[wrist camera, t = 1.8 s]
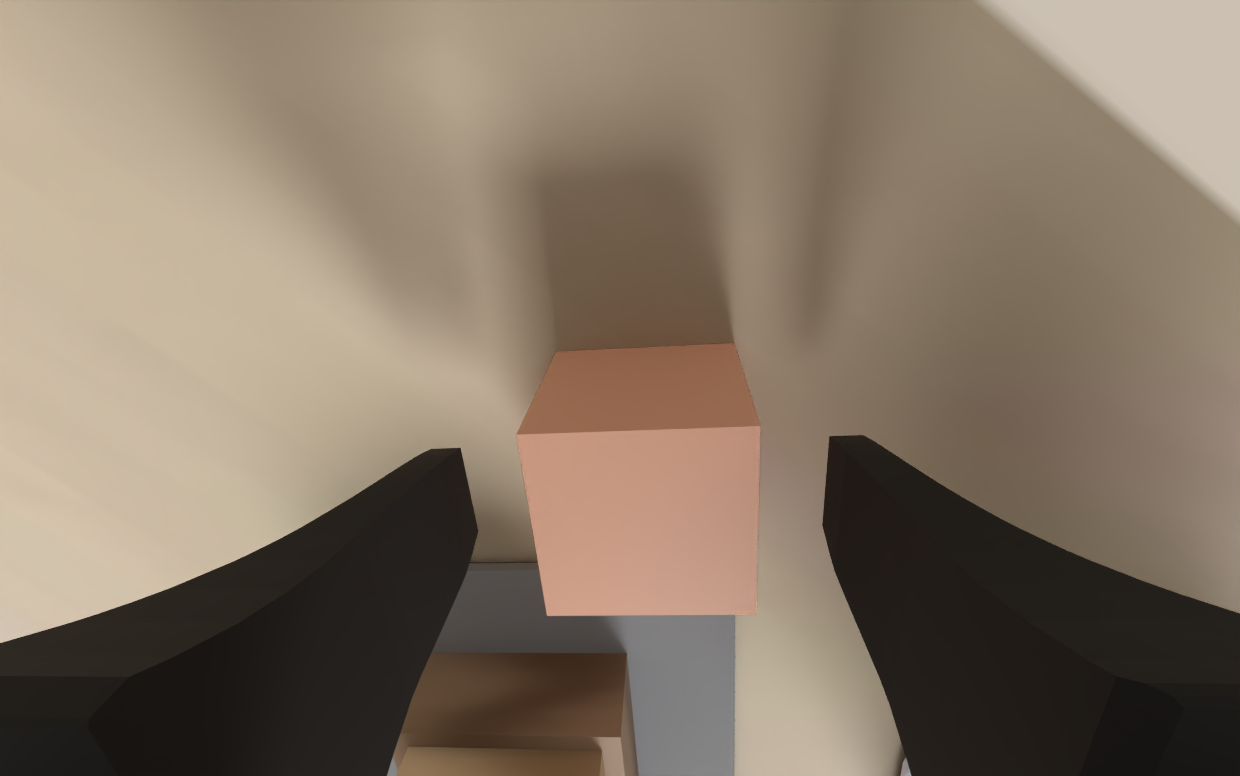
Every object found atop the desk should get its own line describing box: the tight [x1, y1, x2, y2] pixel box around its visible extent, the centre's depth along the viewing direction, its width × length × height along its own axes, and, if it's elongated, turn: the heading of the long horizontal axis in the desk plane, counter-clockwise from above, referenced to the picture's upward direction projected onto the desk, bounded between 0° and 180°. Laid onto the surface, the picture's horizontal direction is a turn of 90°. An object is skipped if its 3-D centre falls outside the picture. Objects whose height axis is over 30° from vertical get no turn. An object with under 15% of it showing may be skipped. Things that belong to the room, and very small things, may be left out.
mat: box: [387, 563, 735, 776], centre depth 18 cm, size 12×12×1 cm
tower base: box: [393, 653, 639, 776], centre depth 17 cm, size 6×6×2 cm
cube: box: [517, 343, 760, 616], centre depth 12 cm, size 4×4×4 cm
